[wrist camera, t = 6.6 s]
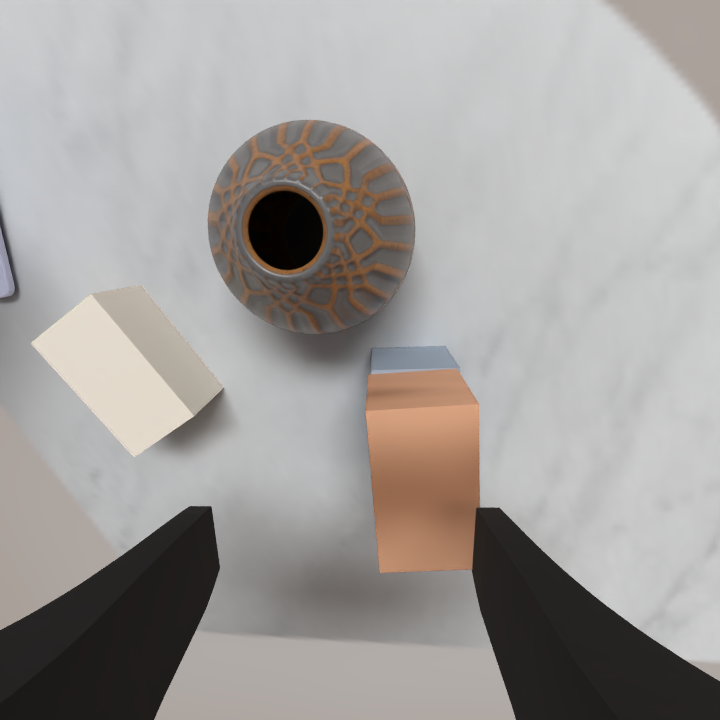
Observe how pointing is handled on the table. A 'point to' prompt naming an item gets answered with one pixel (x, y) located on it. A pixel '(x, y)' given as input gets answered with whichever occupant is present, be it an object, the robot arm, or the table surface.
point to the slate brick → (411, 359)
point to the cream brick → (129, 365)
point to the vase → (311, 226)
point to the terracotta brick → (423, 469)
